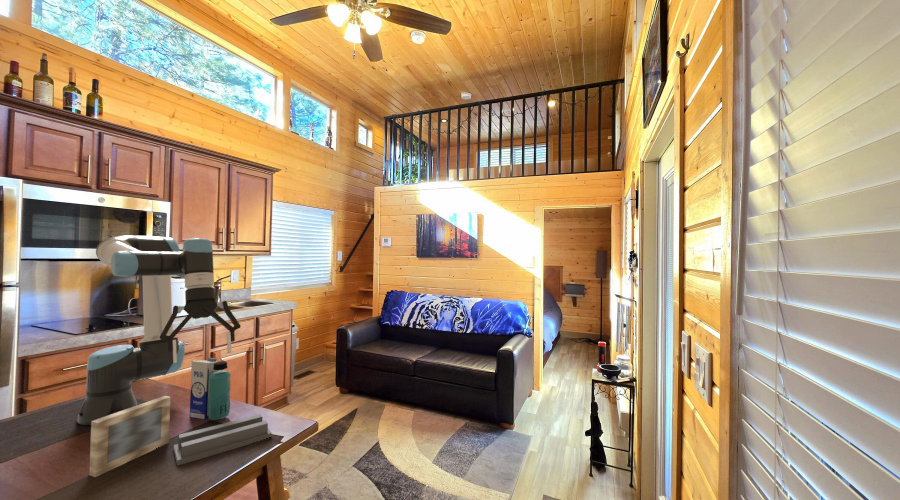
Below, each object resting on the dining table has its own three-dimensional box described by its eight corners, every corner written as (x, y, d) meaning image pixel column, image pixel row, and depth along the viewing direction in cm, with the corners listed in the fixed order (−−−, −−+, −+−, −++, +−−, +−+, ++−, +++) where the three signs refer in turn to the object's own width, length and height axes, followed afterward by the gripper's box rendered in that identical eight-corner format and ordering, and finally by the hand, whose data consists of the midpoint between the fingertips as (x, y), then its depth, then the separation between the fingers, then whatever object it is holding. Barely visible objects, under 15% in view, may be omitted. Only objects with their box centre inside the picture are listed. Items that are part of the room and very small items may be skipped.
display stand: (262, 425, 122) (263, 412, 122) (271, 437, 114) (272, 423, 114) (173, 450, 105) (174, 434, 106) (177, 465, 98) (177, 449, 98)
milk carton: (189, 417, 126) (191, 360, 126) (206, 409, 132) (208, 355, 133) (205, 420, 124) (207, 362, 124) (222, 411, 131) (224, 356, 131)
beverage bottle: (218, 425, 121) (221, 365, 121) (202, 423, 122) (204, 364, 122) (234, 416, 127) (236, 360, 127) (218, 414, 129) (220, 358, 129)
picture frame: (163, 441, 110) (165, 395, 110) (169, 443, 109) (171, 396, 110) (89, 475, 93) (91, 421, 93) (95, 477, 92) (97, 422, 92)
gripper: (147, 290, 101) (149, 367, 98) (247, 283, 117) (252, 349, 113) (148, 293, 107) (150, 366, 103) (243, 286, 122) (247, 349, 119)
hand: (203, 357), depth 108 cm, fingers open, 13 cm apart
